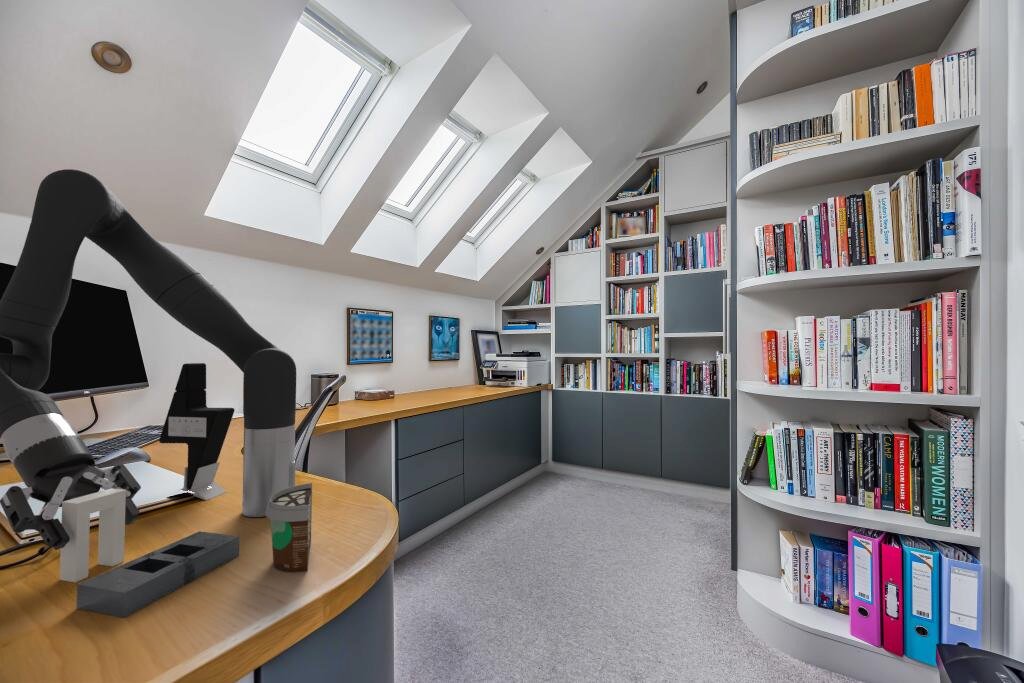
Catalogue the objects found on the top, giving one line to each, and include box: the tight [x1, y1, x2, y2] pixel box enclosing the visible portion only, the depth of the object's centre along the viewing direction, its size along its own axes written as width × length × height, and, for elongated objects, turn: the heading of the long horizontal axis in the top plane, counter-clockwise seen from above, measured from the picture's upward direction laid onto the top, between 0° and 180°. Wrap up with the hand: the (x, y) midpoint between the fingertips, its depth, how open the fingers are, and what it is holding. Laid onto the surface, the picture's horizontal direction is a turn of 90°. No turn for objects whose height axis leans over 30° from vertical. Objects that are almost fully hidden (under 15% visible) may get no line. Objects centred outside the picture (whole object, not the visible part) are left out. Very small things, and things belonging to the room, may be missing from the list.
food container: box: [265, 482, 313, 573], centre depth 64 cm, size 12×6×10 cm, turn 23°
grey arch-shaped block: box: [59, 488, 126, 583], centre depth 61 cm, size 6×3×11 cm, turn 167°
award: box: [158, 362, 235, 501], centre depth 95 cm, size 15×5×30 cm, turn 81°
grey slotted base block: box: [76, 531, 240, 618], centre depth 59 cm, size 16×8×3 cm, turn 167°
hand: (100, 532), depth 61 cm, fingers open, 8 cm apart
